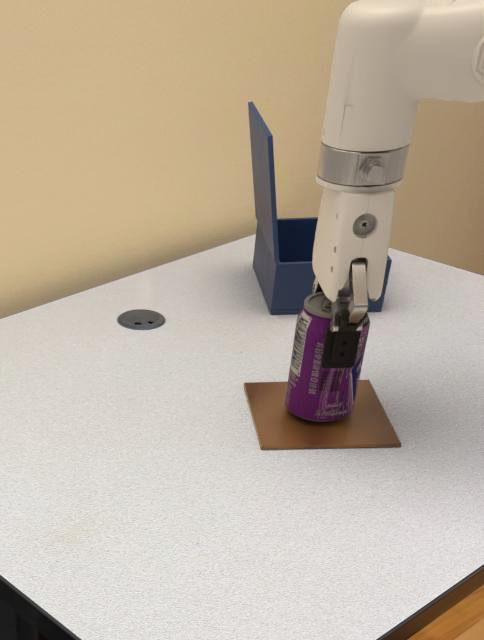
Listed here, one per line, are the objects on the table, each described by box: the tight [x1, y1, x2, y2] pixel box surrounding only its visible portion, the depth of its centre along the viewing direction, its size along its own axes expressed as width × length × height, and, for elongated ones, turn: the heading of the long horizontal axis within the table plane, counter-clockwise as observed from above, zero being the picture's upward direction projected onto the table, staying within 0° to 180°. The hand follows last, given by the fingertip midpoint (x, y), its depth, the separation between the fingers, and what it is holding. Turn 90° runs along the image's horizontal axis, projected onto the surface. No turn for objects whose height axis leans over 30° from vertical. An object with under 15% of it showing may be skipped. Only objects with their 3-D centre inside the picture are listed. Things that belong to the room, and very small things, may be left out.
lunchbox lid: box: [247, 101, 279, 261], centre depth 114 cm, size 15×17×1 cm
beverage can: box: [285, 291, 371, 422], centre depth 92 cm, size 7×7×12 cm
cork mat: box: [243, 379, 402, 450], centre depth 96 cm, size 14×14×1 cm
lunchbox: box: [252, 216, 393, 316], centre depth 120 cm, size 14×17×7 cm
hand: (329, 348), depth 91 cm, fingers closed on beverage can, 7 cm apart
